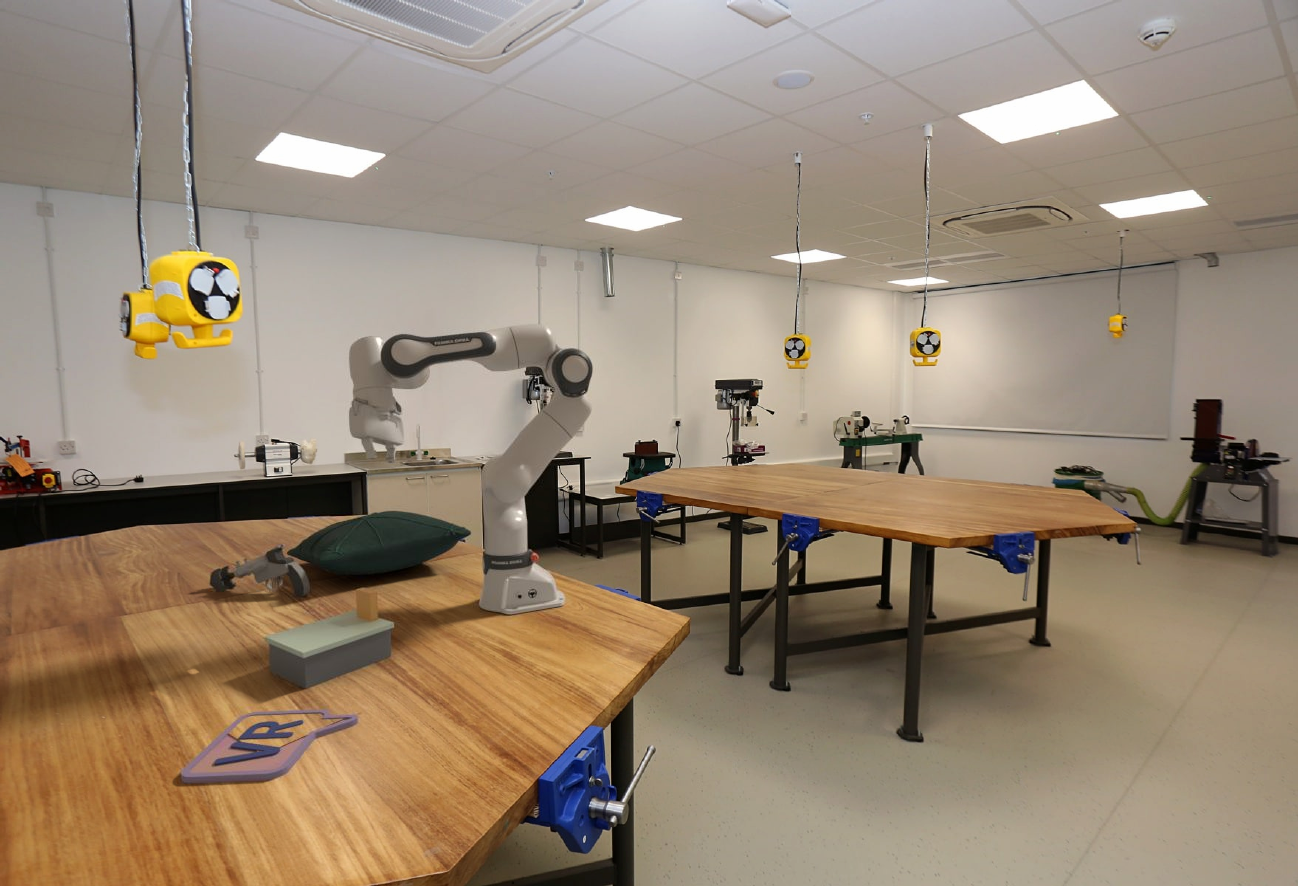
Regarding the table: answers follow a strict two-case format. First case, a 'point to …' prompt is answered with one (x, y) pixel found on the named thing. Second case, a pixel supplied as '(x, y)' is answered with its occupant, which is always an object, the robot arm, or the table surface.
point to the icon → (242, 760)
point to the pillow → (379, 543)
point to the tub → (330, 660)
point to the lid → (334, 628)
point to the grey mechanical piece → (264, 572)
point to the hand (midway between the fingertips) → (381, 460)
